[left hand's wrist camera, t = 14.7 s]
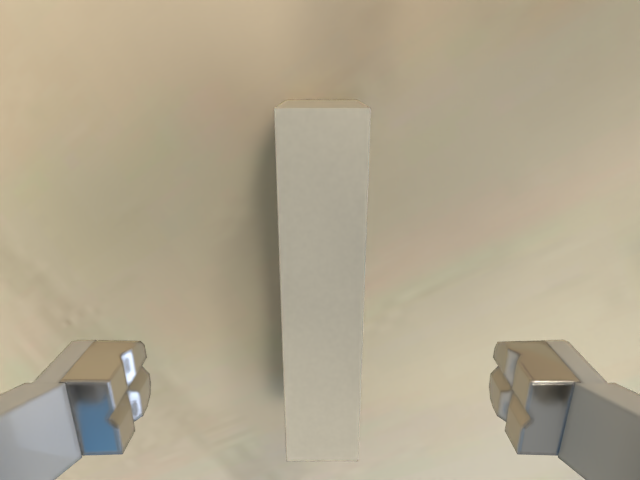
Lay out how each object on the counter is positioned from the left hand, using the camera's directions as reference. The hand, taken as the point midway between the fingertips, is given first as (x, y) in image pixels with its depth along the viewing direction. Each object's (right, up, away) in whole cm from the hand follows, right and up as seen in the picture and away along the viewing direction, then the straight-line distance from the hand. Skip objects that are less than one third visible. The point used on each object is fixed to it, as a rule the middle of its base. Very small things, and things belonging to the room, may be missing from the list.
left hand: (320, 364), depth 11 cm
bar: (0, +2, +25) cm, 25 cm away
